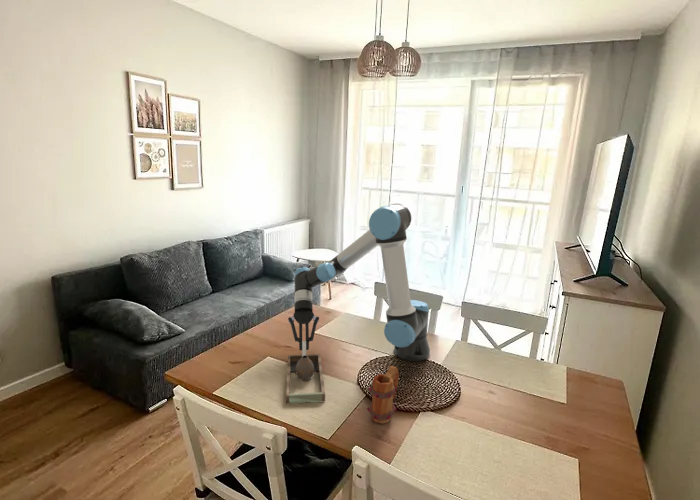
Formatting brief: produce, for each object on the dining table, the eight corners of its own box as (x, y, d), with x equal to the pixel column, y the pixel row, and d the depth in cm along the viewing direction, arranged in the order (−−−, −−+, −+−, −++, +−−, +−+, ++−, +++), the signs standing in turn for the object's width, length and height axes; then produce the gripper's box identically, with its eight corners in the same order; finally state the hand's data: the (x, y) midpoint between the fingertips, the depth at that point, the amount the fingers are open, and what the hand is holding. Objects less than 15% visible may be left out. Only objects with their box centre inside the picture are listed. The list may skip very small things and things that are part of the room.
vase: (310, 384, 145) (311, 362, 143) (292, 381, 146) (292, 360, 144) (316, 374, 151) (316, 353, 149) (299, 372, 153) (298, 351, 151)
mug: (385, 431, 121) (388, 387, 117) (362, 421, 125) (364, 378, 122) (405, 407, 133) (408, 366, 130) (384, 399, 137) (386, 359, 134)
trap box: (287, 362, 160) (287, 355, 159) (320, 360, 162) (320, 353, 161) (286, 403, 133) (286, 395, 132) (325, 401, 135) (325, 393, 134)
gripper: (318, 305, 172) (320, 360, 159) (288, 306, 170) (287, 361, 158) (319, 298, 165) (321, 354, 153) (287, 299, 164) (287, 355, 151)
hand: (304, 358), depth 155 cm, fingers closed
